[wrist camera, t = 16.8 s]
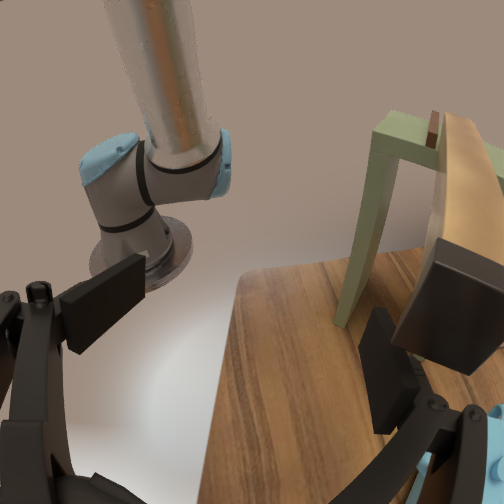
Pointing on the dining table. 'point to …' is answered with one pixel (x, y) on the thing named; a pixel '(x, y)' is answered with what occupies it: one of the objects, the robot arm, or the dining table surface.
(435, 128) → the shelf stand
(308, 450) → the dining table surface
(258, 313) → the dining table surface
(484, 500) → the teapot
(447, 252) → the slide bar
